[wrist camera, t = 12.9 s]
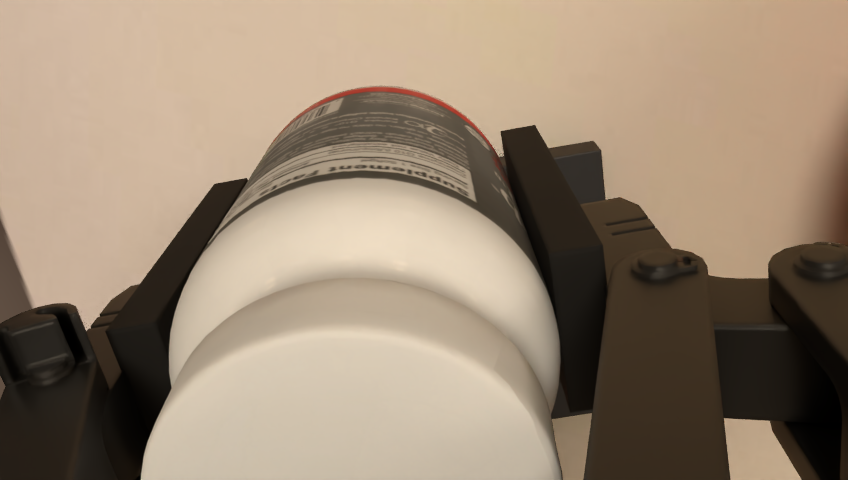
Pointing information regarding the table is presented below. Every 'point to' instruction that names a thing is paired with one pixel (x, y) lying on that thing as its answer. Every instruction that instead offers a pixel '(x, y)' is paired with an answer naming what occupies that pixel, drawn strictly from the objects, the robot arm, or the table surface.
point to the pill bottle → (365, 312)
